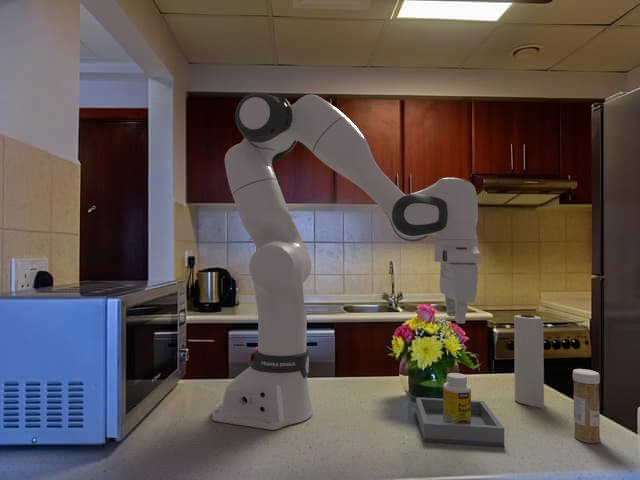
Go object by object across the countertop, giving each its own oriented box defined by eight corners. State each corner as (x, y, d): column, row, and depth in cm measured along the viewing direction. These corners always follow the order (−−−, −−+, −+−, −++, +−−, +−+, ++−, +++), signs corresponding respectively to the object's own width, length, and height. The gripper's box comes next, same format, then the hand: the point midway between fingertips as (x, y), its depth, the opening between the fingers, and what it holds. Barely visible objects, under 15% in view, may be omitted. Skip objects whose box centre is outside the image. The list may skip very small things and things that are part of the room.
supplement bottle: (458, 432, 84) (458, 380, 84) (437, 422, 88) (437, 374, 89) (476, 426, 87) (476, 376, 87) (455, 417, 91) (455, 370, 92)
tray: (423, 441, 81) (423, 423, 81) (415, 412, 96) (415, 397, 96) (504, 447, 79) (504, 428, 79) (483, 416, 94) (483, 400, 94)
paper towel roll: (513, 396, 108) (513, 313, 108) (540, 399, 106) (539, 315, 106) (515, 405, 101) (515, 317, 102) (544, 409, 99) (543, 319, 100)
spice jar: (603, 445, 80) (603, 375, 81) (577, 442, 82) (576, 373, 82) (596, 436, 84) (595, 369, 85) (570, 433, 86) (570, 367, 86)
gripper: (433, 253, 100) (433, 312, 99) (449, 253, 79) (448, 326, 79) (460, 254, 99) (460, 312, 98) (483, 254, 79) (483, 328, 78)
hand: (455, 319), depth 88 cm, fingers open, 8 cm apart
